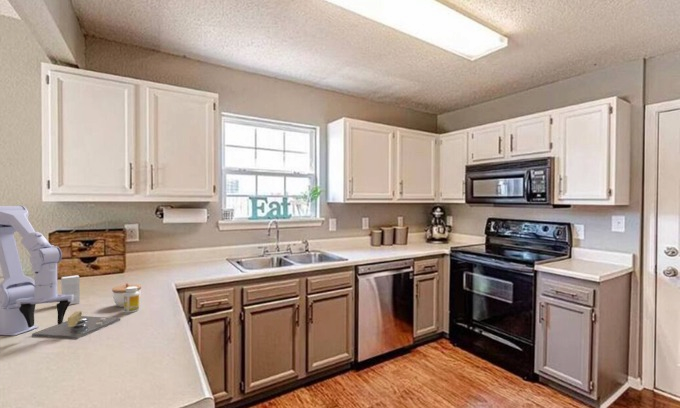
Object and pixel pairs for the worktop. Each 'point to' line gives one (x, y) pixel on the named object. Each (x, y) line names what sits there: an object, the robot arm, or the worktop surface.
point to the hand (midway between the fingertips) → (45, 324)
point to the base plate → (76, 328)
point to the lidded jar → (122, 293)
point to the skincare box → (71, 287)
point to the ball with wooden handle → (76, 319)
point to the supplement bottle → (131, 300)
